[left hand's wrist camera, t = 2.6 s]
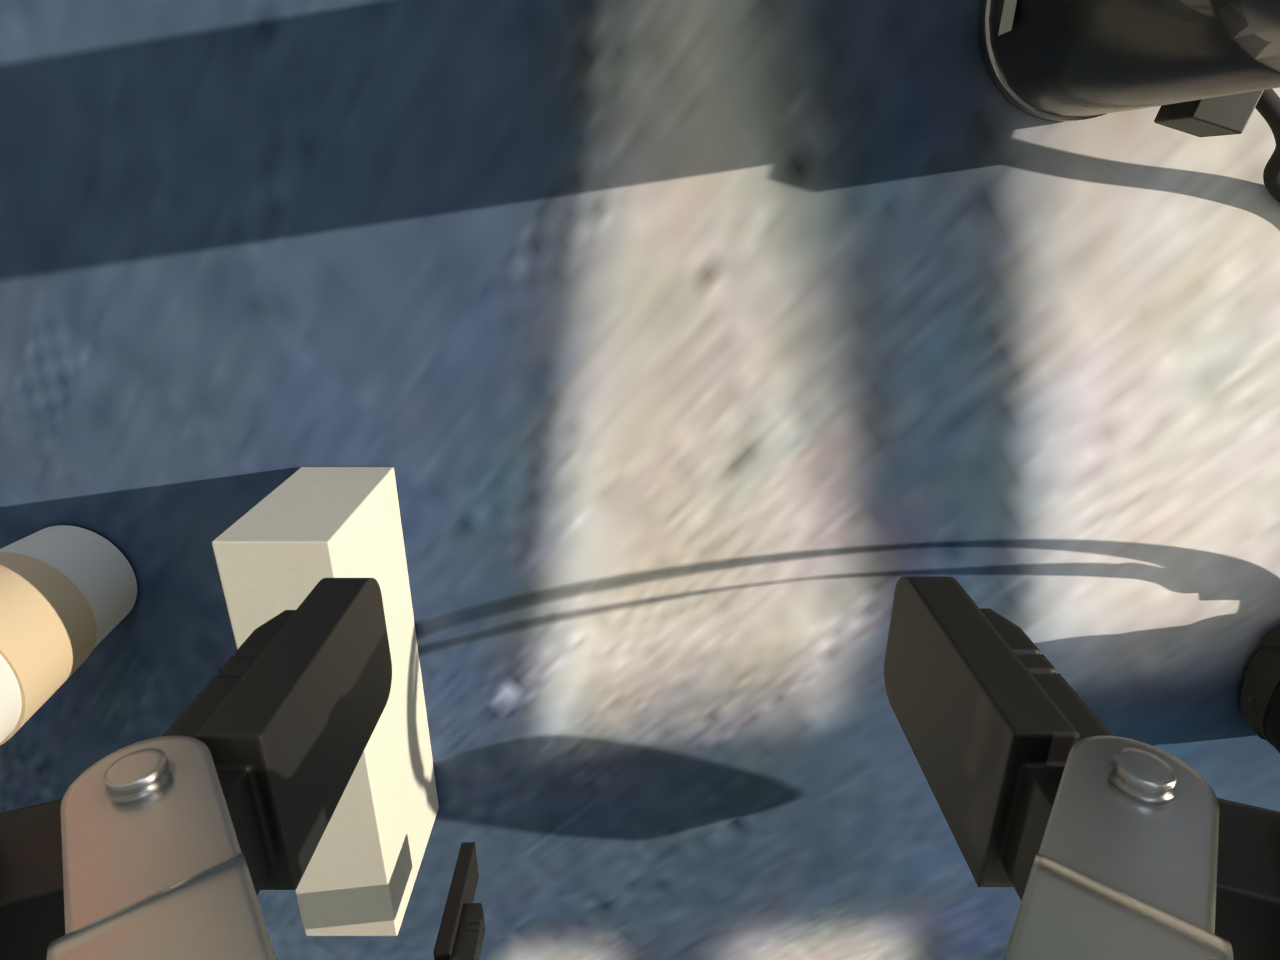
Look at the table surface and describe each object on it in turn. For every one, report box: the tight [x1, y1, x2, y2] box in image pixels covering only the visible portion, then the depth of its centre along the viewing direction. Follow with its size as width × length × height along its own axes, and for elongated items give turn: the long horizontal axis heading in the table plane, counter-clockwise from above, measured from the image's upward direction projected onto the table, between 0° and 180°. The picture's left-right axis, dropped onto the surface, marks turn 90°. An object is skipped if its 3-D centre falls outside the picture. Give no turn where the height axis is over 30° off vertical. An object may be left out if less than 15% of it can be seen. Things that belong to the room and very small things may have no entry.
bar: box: [212, 467, 439, 936], centre depth 42 cm, size 25×5×9 cm, turn 0°
